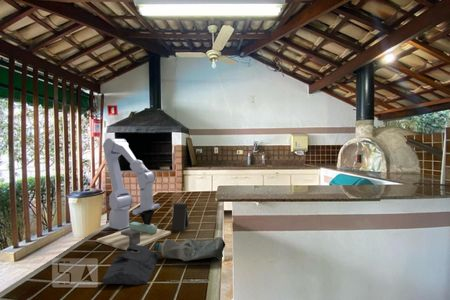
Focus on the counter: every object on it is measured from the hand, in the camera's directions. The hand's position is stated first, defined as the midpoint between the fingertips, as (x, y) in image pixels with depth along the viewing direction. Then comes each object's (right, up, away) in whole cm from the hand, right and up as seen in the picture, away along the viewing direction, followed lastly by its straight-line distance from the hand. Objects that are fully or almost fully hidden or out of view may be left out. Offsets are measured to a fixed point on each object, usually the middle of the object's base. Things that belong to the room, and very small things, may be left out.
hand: (147, 226), depth 116 cm
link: (-1, -1, -3) cm, 3 cm away
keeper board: (-3, -2, -8) cm, 9 cm away
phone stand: (+15, -2, +5) cm, 16 cm away
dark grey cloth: (+6, -3, -36) cm, 37 cm away
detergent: (+24, -3, -28) cm, 37 cm away
